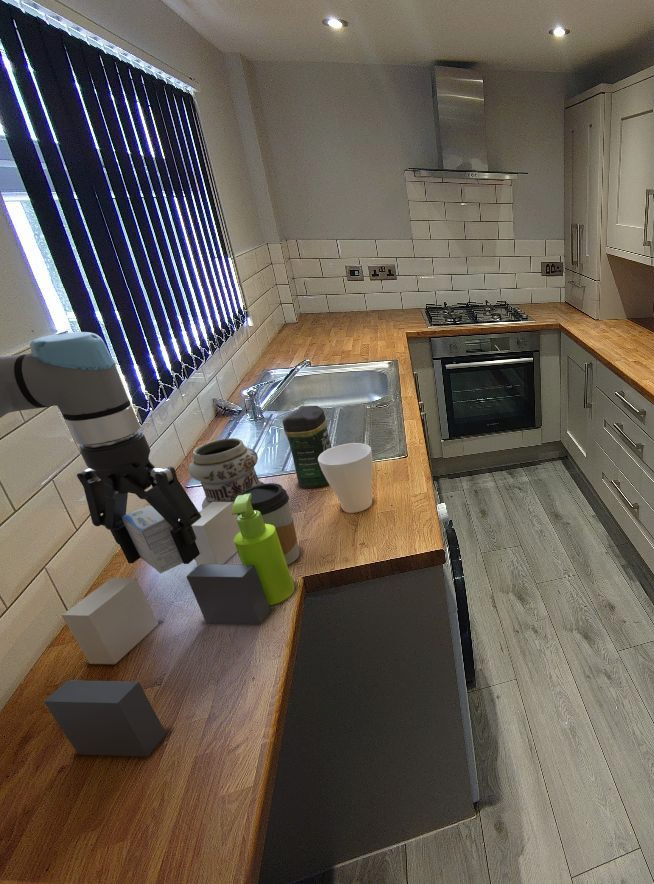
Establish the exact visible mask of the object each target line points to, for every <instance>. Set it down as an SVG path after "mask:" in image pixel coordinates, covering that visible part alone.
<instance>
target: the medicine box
mask: <svg viewBox="0 0 654 884" xmlns="http://www.w3.org/2000/svg"><path fill="white" fill-rule="evenodd" d="M122 520H123V523H124V525H125V527H126V529H127V531H128V533H129V535H130V537H131V539H132V541H133V544H134V546H135V548H136V550H137V552H138V554H139V556H140V557H141V558H140V559H142V560H143V561H144V562H145V563H146V564H148V565H149V566H150V567H152V568H153V569H155V571H157V572H158V573H159V574H163V573H164V572H167V571H169V570H172V569H174V568H175V567H178V566H179V565H182V564H184V563H183V561H182V558H181V556H180V554H179V551H178V549H177V547H176V544H175V542H174V540H173V538H172V535H171V533H170V531H171V530H172V529H174V528H173V527H172V526H171V525H170V524H169V523H168V522H167V521H166V520H165V519H164V518H163V517H162V516H161V515H160V514H159V513H158V512H157V511H156V510H155V509H154V508H153V507H152V506H151V505H150V504H149V505H146V506H143V507H140V508H138V509H135V510H133V511H131V512H128V513H126V515H124V516H122Z"/></svg>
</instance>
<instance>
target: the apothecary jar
mask: <svg viewBox="0 0 654 884" xmlns="http://www.w3.org/2000/svg"><path fill="white" fill-rule="evenodd" d="M192 456H193V459H192V461H191V462H190V464H189V466H188V469H187V470H188V471H187V472H188V475H189V476H190V477H191V478H192V479H194V480H196V481H198V482H200V484H201V487H202V489H203V492H204V496H205V497H204V499H203V500H202V503H201V510H202V509H204V508H205V507H206V506H208V505H209V504H210V503H212V502H233V504H234V501H235V499H236V497H237V496H238V494H239V493H241V492H242V491H244V490H246V489H248V488H251V487H253V486H257V485H260V484H266V483H264V482H263V481H261V480H260V479H259V477H258V473H257V472H256V469H255V466H256V465H257V463H258V460H259V456H258V454H257V452H256V451H255V450H254V449H252V448H251V447H248V446H246V445H245V444H244V442H243V440H242V439H239V438H235V437H229V438H228V437H227V438H221V439H216V440H212V441H209V442H206V443H204V444H201V445H199V446H197V447H195V448H194V449H193V451H192ZM237 516H239V515H238V514H237Z"/></svg>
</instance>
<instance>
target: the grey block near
mask: <svg viewBox="0 0 654 884" xmlns="http://www.w3.org/2000/svg"><path fill="white" fill-rule="evenodd" d="M43 703H44V705H45V706H46V707H47V709H48V710H49V712H50V713H51V714H50V715H52V717H53V719H54V720H55V721H56V723H57V724H58V726H59V728H60V729H61V731H62V732H63V734H64V736H65V737H66V738H67V740H68V741H69V743H70V744H71V746H72V748H73V749H74V750H75V752H76V754H77V755H81V756H82V755H84V756H85V755H86V756H87V755H88V756H114V757H115V756H118V757H119V756H120V757H149V756H150V755H151V753H152V752H153V751H154V750H155V748H156V747H157V746H158V745H159V744H160V743H161V741H162V740H163V739H164V738H165V737H166V736H167V732H166V730H165V728H164V727H163V725H162V723H161V721H160V719H159V717H158V715H157V713H156V711H155V709H154V708H153V705H152V704H151V702H150V700H149V698H148V697H147V694H146V693H145V690H144V688H143V687H142V685H141V683H140V681H124V680H123V681H121V680H119V681H118V680H86V679H85V680H83V679H81V680H80V679H67V680H66V681H65V682H64V683H63V684H62V685H60V686H59V687H58V688H57V689H56V690H54V691H53V693H51V694H50V695H49V696H48V697H46V698H45V699H44V700H43Z"/></svg>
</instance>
